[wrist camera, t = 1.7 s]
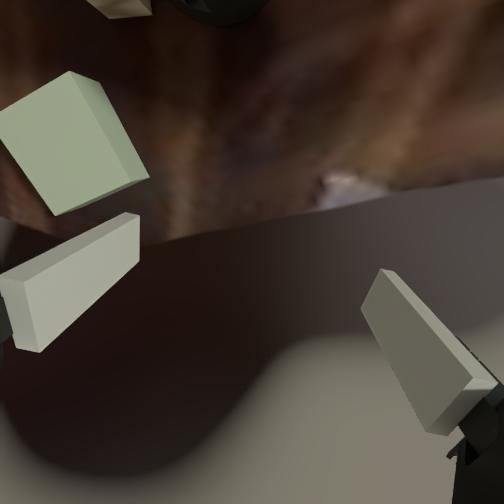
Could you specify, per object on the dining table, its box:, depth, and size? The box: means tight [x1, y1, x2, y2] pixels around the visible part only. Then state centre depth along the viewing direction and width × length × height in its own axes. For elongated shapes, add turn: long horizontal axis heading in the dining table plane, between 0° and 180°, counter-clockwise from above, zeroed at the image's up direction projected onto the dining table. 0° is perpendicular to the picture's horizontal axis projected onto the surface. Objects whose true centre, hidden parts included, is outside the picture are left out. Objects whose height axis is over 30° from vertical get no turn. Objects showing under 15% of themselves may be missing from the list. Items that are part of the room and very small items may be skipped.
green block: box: [0, 71, 149, 216], centre depth 31 cm, size 12×12×5 cm
